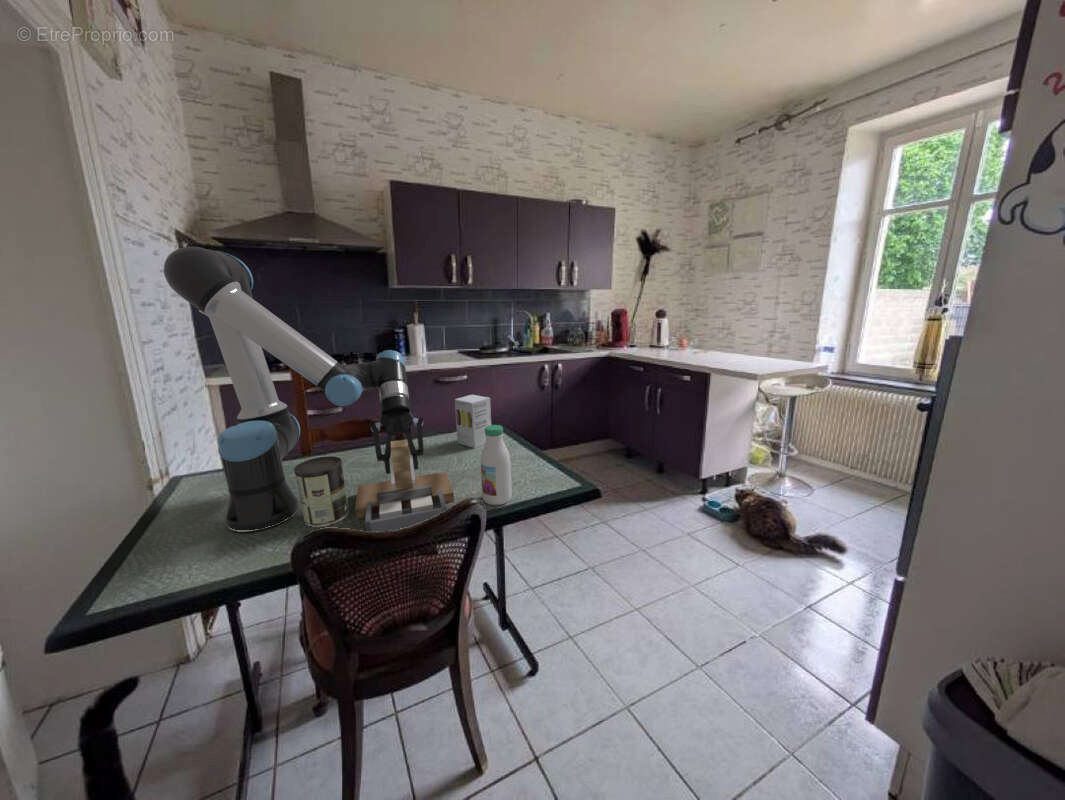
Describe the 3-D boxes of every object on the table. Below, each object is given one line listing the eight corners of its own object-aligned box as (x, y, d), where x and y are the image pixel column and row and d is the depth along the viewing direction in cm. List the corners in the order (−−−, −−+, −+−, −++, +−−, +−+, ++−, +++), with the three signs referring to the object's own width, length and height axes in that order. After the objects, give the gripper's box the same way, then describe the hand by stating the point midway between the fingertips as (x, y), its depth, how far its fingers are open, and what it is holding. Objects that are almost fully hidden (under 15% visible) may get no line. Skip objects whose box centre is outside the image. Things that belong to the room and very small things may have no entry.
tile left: (380, 525, 97) (379, 514, 96) (381, 515, 101) (379, 504, 100) (403, 521, 98) (401, 510, 97) (402, 511, 103) (401, 500, 102)
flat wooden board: (356, 518, 101) (354, 509, 100) (359, 493, 114) (358, 485, 113) (454, 501, 108) (453, 492, 108) (446, 479, 121) (446, 471, 121)
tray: (367, 539, 92) (365, 523, 91) (369, 516, 102) (367, 501, 101) (448, 523, 98) (446, 508, 97) (442, 503, 107) (441, 489, 106)
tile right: (412, 519, 99) (411, 508, 98) (411, 509, 103) (410, 498, 103) (434, 515, 100) (432, 504, 100) (431, 505, 105) (430, 495, 104)
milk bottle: (506, 489, 114) (503, 421, 109) (515, 502, 107) (512, 429, 102) (479, 495, 111) (475, 425, 106) (487, 508, 104) (482, 434, 99)
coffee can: (341, 502, 109) (333, 452, 106) (355, 516, 102) (347, 463, 99) (298, 516, 103) (288, 464, 99) (310, 533, 95) (300, 477, 92)
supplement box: (456, 443, 150) (453, 399, 146) (474, 436, 158) (471, 393, 153) (475, 448, 145) (472, 402, 141) (493, 441, 152) (490, 397, 148)
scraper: (378, 505, 100) (370, 453, 96) (378, 494, 105) (371, 444, 101) (432, 495, 104) (427, 445, 100) (430, 485, 109) (425, 437, 105)
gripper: (427, 405, 117) (438, 482, 106) (362, 412, 111) (368, 494, 100) (427, 391, 110) (439, 471, 99) (359, 397, 105) (364, 483, 94)
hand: (403, 483), depth 100 cm, fingers closed on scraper, 4 cm apart
